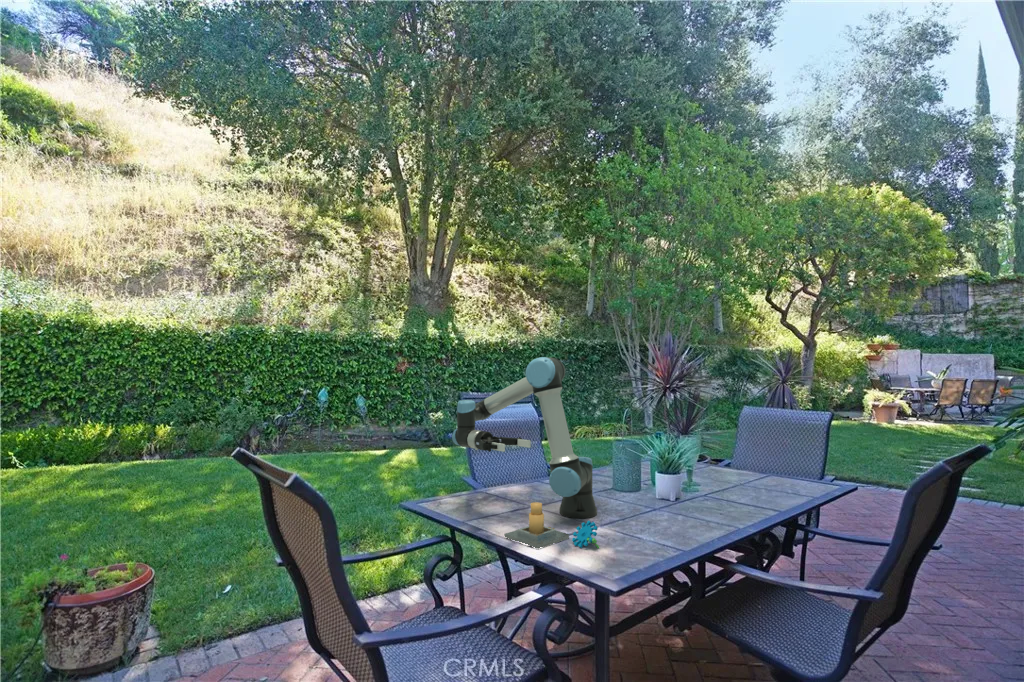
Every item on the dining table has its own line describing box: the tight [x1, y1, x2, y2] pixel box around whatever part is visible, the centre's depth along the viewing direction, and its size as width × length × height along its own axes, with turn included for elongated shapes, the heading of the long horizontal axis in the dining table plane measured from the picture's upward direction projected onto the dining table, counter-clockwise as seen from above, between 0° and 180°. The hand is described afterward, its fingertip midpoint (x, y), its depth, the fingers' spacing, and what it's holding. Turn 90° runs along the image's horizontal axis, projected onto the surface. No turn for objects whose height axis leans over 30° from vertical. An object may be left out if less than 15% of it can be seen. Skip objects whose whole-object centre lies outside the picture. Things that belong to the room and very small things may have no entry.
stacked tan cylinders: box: [528, 501, 545, 534], centre depth 189 cm, size 5×5×10 cm
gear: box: [571, 520, 600, 549], centre depth 182 cm, size 11×6×10 cm
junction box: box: [503, 525, 570, 549], centre depth 189 cm, size 16×16×3 cm
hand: (517, 446), depth 204 cm, fingers open, 13 cm apart
